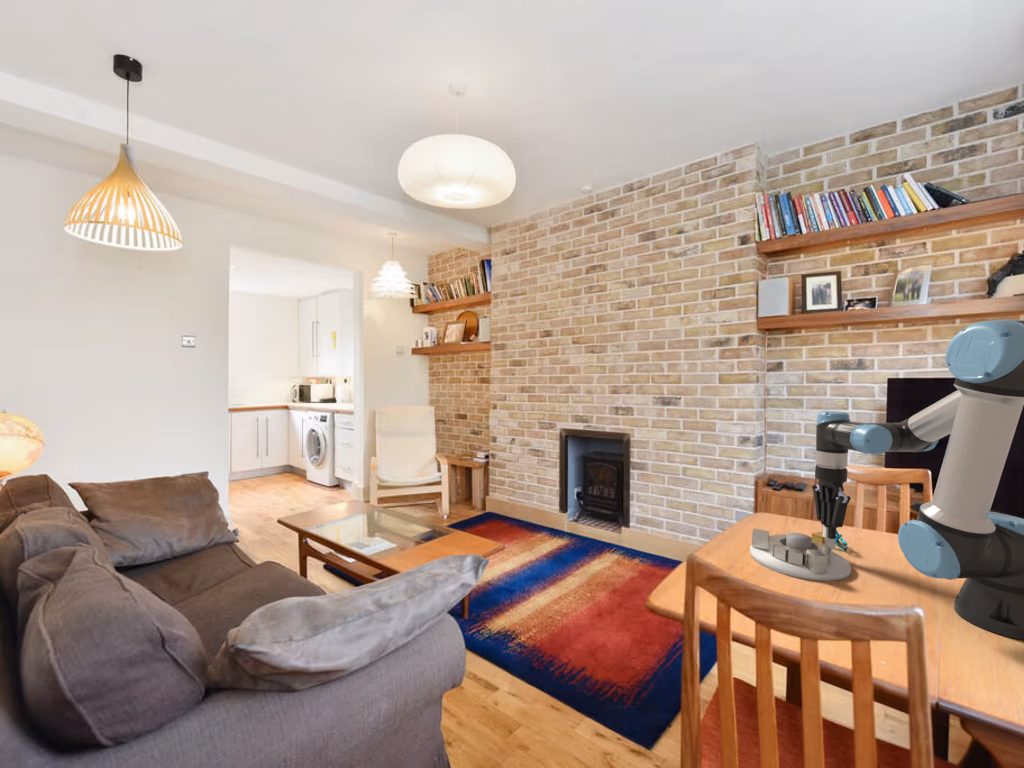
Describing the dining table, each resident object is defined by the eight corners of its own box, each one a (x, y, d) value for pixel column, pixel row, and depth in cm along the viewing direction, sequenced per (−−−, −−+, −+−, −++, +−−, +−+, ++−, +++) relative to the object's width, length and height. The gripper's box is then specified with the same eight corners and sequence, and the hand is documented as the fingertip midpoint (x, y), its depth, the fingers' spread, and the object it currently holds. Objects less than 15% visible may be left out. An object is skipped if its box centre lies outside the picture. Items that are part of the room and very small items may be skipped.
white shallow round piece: (873, 581, 119) (874, 554, 119) (778, 580, 120) (779, 553, 119) (814, 544, 143) (815, 522, 143) (735, 543, 144) (735, 521, 143)
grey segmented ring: (865, 563, 126) (866, 546, 126) (818, 575, 119) (819, 558, 118) (790, 535, 146) (791, 521, 146) (746, 544, 138) (746, 529, 138)
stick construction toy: (854, 548, 135) (835, 523, 139) (831, 559, 137) (812, 534, 140) (845, 545, 146) (827, 522, 149) (824, 556, 147) (806, 532, 151)
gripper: (861, 471, 126) (858, 558, 127) (829, 461, 139) (826, 540, 140) (833, 471, 126) (830, 557, 127) (803, 461, 139) (801, 539, 140)
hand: (828, 548), depth 133 cm, fingers closed
